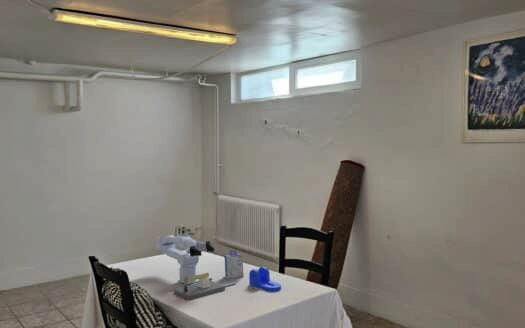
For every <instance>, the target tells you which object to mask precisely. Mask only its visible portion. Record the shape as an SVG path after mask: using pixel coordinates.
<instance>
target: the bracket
mask: <svg viewBox="0 0 525 328" xmlns="http://www.w3.org/2000/svg"><path fill="white" fill-rule="evenodd" d="M248 275H249V286H252V287H255V288H258V289H261V290H264V291H267V292H279V291H280V290H282V284H281V283H279V282H275V281H273V280H271V279H270V275H271V274H270V271H269V269H268V267H267V266H261V267H259V268H254V269H250V271H249V274H248Z"/></svg>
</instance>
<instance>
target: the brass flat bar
mask: <svg viewBox="0 0 525 328" xmlns="http://www.w3.org/2000/svg"><path fill="white" fill-rule="evenodd" d="M205 277H208V278H210V273H209V272H205V273H204V272H203V273H199V274H196V275H195V276H191V277H187V278H184V283H183V287H184V291H188V286H189V284H188V282H189V281H193V280H199V279H201V278H205Z"/></svg>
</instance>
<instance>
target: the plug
mask: <svg viewBox="0 0 525 328" xmlns="http://www.w3.org/2000/svg"><path fill="white" fill-rule="evenodd" d="M198 280H199V282H198V283H199V285H198V287H200V288H202V289H204V288H208V287H211V285H210V281H212V280H213V278H212V277H211V278H210V277H205V278H201V279H198Z"/></svg>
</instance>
